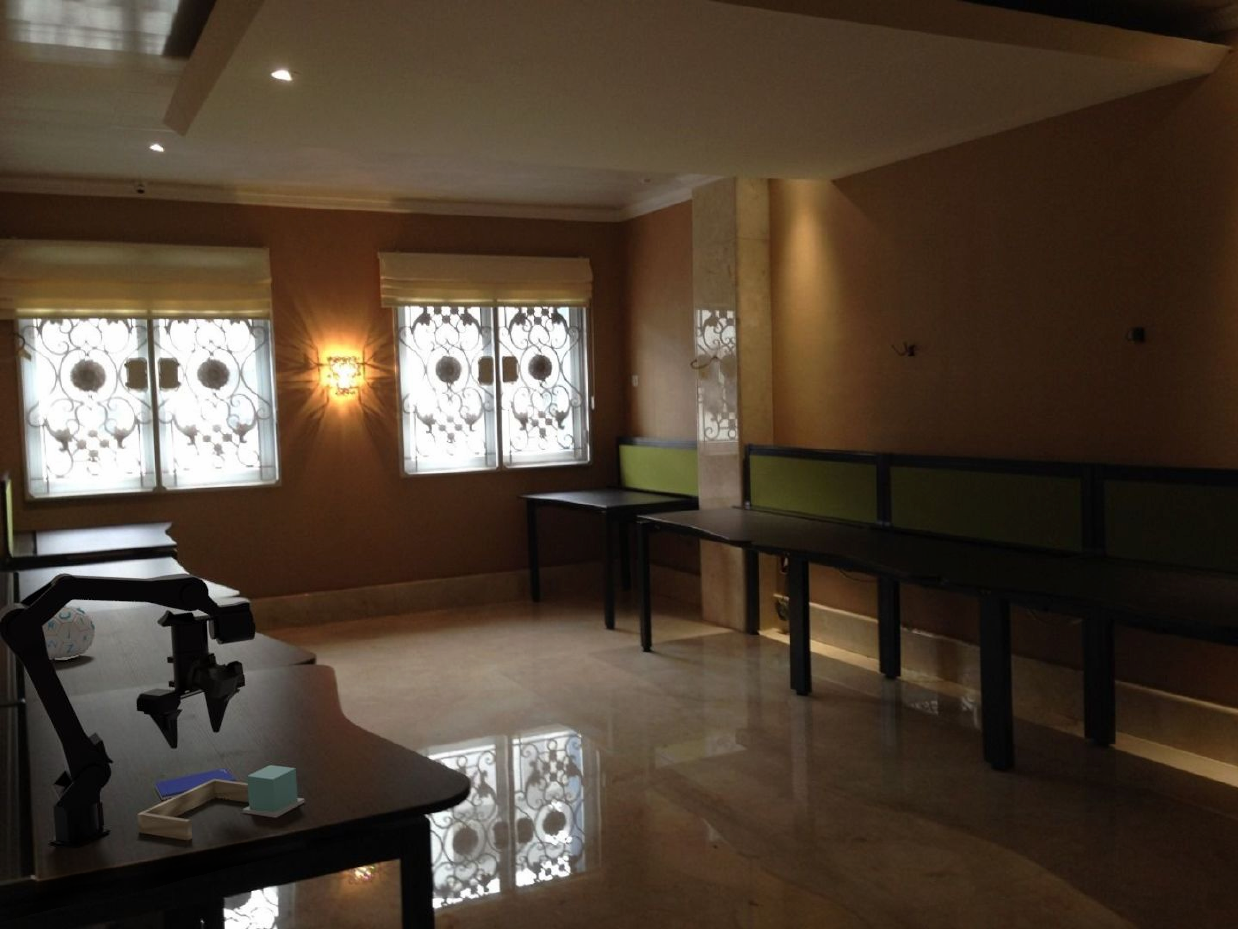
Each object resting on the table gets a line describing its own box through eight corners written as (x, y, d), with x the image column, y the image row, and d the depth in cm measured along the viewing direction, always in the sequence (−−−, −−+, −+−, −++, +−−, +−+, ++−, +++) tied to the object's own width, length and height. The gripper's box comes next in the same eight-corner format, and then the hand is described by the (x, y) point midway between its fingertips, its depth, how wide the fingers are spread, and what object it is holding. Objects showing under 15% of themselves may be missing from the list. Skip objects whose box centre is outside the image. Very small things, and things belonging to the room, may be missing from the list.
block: (275, 812, 180) (272, 779, 179) (249, 808, 182) (247, 776, 182) (297, 800, 185) (295, 768, 184) (272, 796, 187) (270, 765, 187)
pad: (276, 817, 179) (275, 814, 179) (243, 812, 182) (243, 809, 182) (304, 802, 185) (304, 798, 185) (272, 797, 188) (272, 794, 188)
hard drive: (225, 766, 203) (154, 781, 196) (235, 778, 196) (161, 795, 189) (226, 775, 203) (155, 790, 196) (236, 787, 196) (162, 803, 189)
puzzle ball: (42, 657, 309) (38, 604, 308) (100, 650, 314) (96, 599, 313) (31, 669, 295) (26, 614, 294) (92, 662, 299) (87, 608, 298)
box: (188, 840, 171) (186, 821, 171) (138, 832, 175) (137, 814, 175) (262, 802, 186) (261, 785, 186) (215, 795, 191) (214, 778, 190)
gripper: (181, 665, 171) (187, 762, 172) (266, 640, 188) (271, 729, 189) (131, 660, 176) (137, 755, 177) (218, 636, 193) (223, 723, 194)
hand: (195, 740), depth 184 cm, fingers open, 9 cm apart
